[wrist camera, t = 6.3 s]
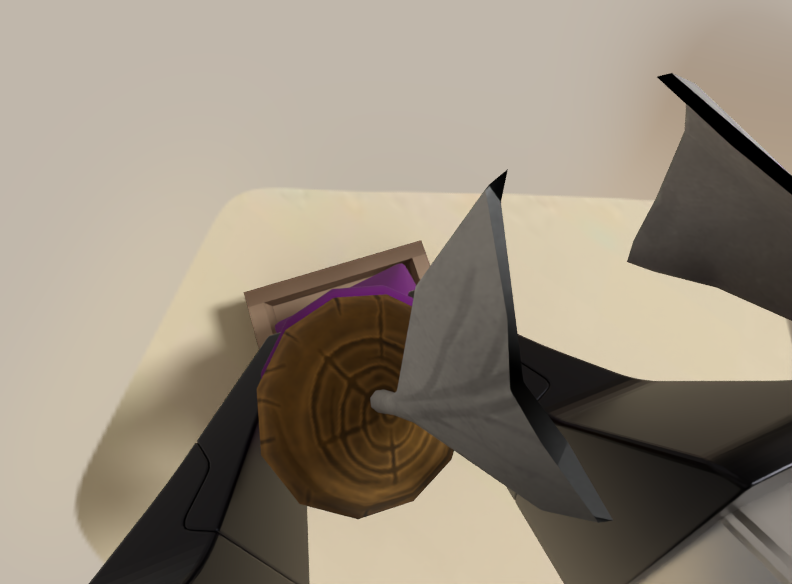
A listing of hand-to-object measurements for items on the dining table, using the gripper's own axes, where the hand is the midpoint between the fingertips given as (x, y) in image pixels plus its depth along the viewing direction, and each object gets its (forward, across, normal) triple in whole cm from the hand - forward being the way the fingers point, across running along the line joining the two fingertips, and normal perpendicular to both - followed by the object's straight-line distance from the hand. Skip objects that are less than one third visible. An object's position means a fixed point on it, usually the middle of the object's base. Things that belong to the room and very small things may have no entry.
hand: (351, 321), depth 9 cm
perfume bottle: (+6, 0, +8) cm, 10 cm away
